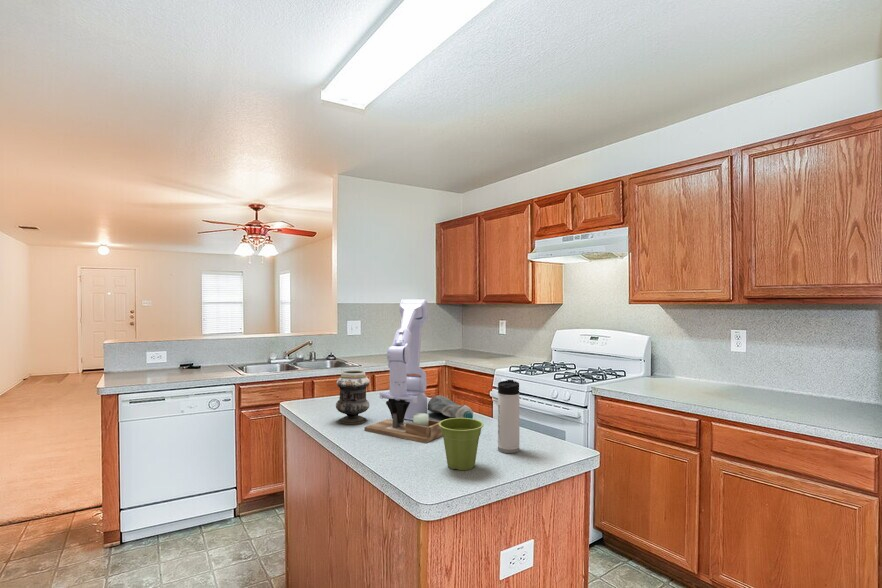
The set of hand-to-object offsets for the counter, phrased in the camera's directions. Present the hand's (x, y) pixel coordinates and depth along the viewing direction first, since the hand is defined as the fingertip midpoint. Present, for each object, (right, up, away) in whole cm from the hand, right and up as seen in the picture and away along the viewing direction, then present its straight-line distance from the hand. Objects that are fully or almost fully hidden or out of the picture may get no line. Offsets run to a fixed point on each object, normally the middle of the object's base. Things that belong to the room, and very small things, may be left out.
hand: (398, 422), depth 156 cm
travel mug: (+34, -3, -20) cm, 40 cm away
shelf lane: (+3, -3, -2) cm, 4 cm away
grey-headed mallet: (+5, -1, -3) cm, 6 cm away
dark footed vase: (-18, -3, +13) cm, 22 cm away
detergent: (+19, -4, +16) cm, 25 cm away
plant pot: (+20, -3, -33) cm, 39 cm away
